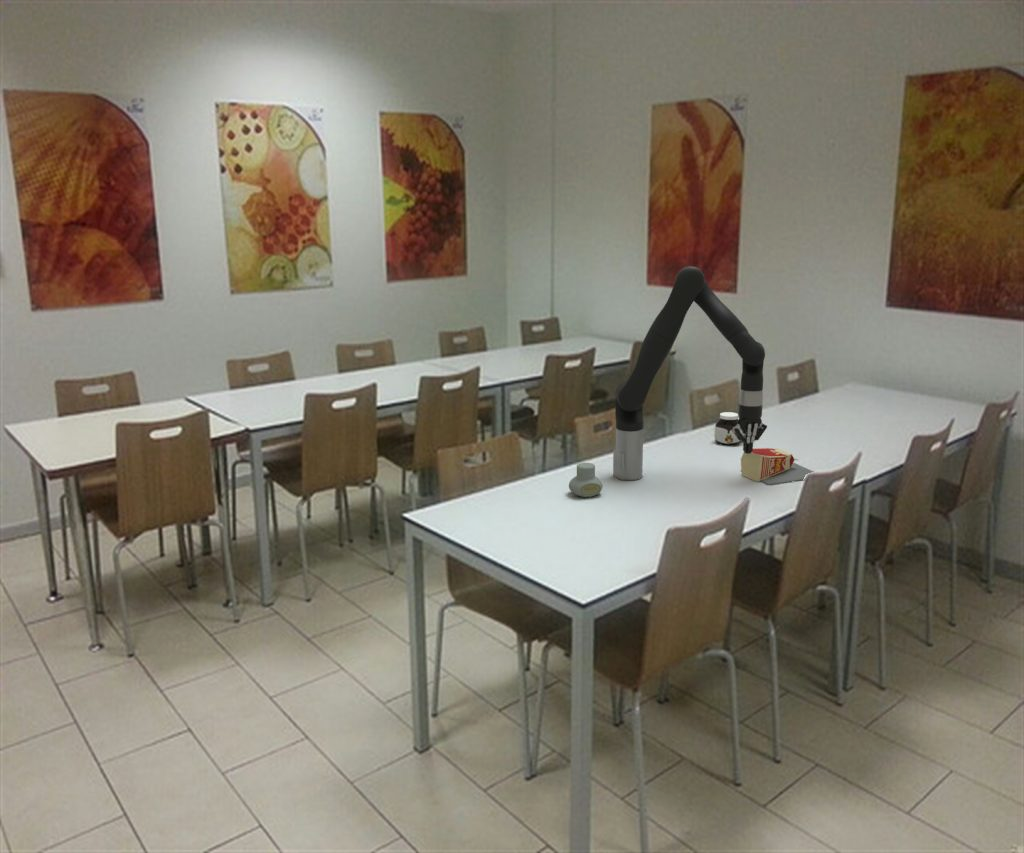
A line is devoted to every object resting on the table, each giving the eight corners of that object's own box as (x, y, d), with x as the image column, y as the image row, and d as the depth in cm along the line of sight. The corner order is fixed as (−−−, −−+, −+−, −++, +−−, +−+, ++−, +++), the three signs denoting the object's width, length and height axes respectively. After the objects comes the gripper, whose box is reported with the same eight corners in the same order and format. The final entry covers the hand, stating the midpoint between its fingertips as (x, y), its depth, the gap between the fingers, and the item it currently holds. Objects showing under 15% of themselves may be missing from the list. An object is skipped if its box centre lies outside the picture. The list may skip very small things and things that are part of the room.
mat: (768, 485, 284) (768, 484, 284) (740, 471, 298) (740, 470, 298) (823, 477, 291) (823, 476, 290) (794, 464, 305) (794, 462, 305)
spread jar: (712, 444, 331) (713, 415, 328) (719, 437, 340) (721, 408, 337) (743, 448, 325) (745, 418, 322) (750, 440, 335) (752, 411, 332)
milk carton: (758, 481, 287) (800, 473, 297) (761, 455, 285) (803, 448, 295) (738, 473, 295) (780, 466, 305) (741, 448, 292) (783, 441, 302)
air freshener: (574, 500, 274) (574, 470, 271) (565, 492, 282) (565, 463, 279) (606, 496, 277) (606, 467, 274) (596, 488, 284) (597, 459, 282)
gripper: (739, 407, 278) (737, 458, 282) (774, 403, 282) (771, 453, 286) (727, 402, 285) (724, 452, 289) (761, 398, 289) (758, 447, 293)
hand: (747, 452), depth 288 cm, fingers closed
